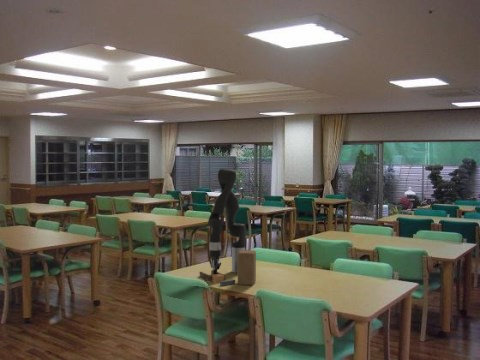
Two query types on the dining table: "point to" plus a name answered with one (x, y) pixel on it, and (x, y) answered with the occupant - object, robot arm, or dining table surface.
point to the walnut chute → (208, 275)
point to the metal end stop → (227, 282)
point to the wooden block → (246, 267)
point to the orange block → (217, 277)
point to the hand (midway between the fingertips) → (215, 275)
